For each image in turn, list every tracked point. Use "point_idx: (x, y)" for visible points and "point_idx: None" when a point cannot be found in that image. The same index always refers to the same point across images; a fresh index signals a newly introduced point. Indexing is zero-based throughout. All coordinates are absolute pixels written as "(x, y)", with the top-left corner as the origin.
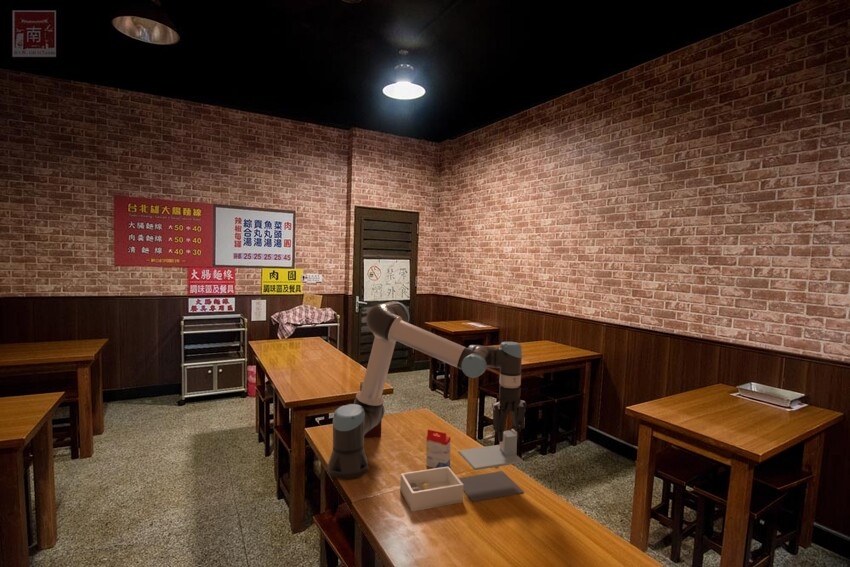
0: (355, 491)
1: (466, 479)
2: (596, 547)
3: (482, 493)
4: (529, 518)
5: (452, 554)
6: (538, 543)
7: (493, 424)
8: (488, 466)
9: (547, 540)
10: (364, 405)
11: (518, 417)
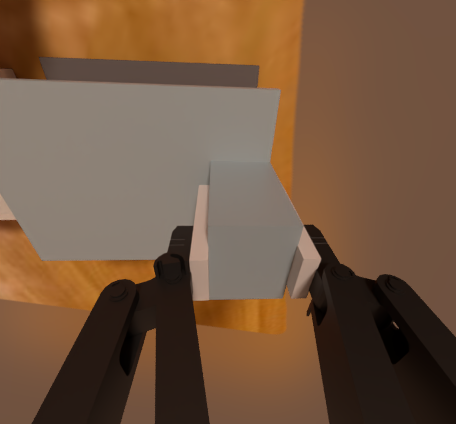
0: None
1: (91, 80)
2: (253, 319)
3: None
4: None
5: (35, 297)
6: None
7: (80, 341)
8: (103, 257)
9: (197, 302)
10: None
11: (445, 384)
